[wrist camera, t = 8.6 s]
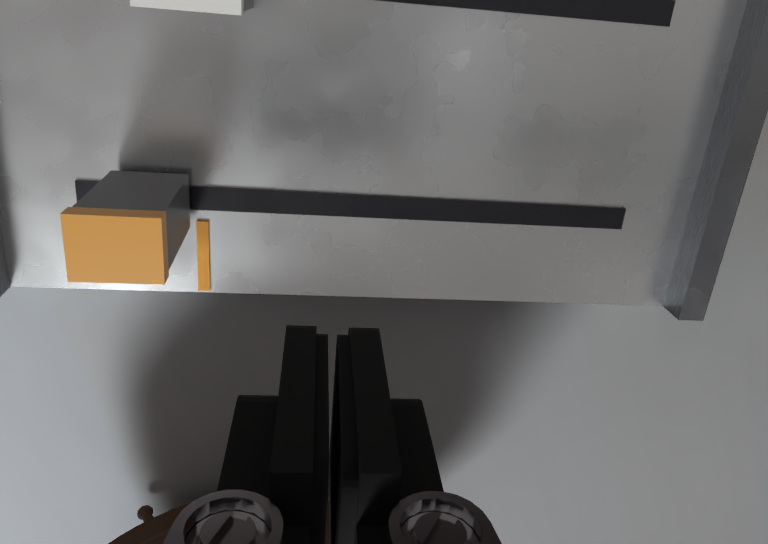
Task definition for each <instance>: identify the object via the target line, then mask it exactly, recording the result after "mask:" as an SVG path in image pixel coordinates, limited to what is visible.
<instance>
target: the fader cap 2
mask: <svg viewBox="0 0 768 544" xmlns="http://www.w3.org/2000/svg"><path fill="white" fill-rule="evenodd" d="M130 6H134V7H146V8H158V9H170V10H182V11H194V12H206V13H217V14H229V15H244V11H246V10H249V9H252V8H254V0H130Z"/></svg>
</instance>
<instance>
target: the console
mask: <svg viewBox="0 0 768 544" xmlns="http://www.w3.org/2000/svg"><path fill="white" fill-rule="evenodd" d="M767 111H768V0H254V8H252V9H249V10H246V11H244V15H229V14H217V13H206V12H194V11H182V10H170V9H158V8H146V7H134V6H130V0H0V297H1V296H2V294H3V293H4V292H5V291H6V290H7V289H8V288H9V287H44V288H78V289H112V290H146V291H180V292H213V293H247V294H281V295H315V296H349V297H383V298H416V299H450V300H484V301H518V302H552V303H586V304H619V305H653V306H663V307H665V308H666V309H667V310H668V311H669V312H670V313H671V314H672V315H674V316H675V317H676V318H677V319H678V320H701V321H703V319H704V316H705V313H706V310H707V306H708V303H709V300H710V297H711V293H712V290H713V287H714V284H715V280H716V277H717V274H718V270H719V267H720V264H721V261H722V257H723V254H724V251H725V248H726V244H727V241H728V238H729V235H730V231H731V228H732V225H733V222H734V218H735V215H736V212H737V208H738V205H739V202H740V199H741V195H742V192H743V189H744V186H745V182H746V179H747V176H748V173H749V169H750V166H751V163H752V160H753V156H754V153H755V150H756V146H757V143H758V140H759V137H760V133H761V130H762V127H763V124H764V120H765V117H766V114H767ZM111 170H115V171H134V172H153V173H172V174H189V203H190V228H189V230H188V232H187V234H186V237H185V239H184V241H183V243H182V245H181V247H180V249H179V251H178V253H177V255H176V257H175V259H174V261H173V263H172V265H171V267H170V269H169V277H168V279H167V281H166V283H165V285H155V284H123V283H90V282H68V280H67V272H66V263H65V254H64V245H63V236H62V228H61V219H60V213H61V212H63V211H64V210H65V209H66V208H67V207H72V206H73V205H74V204H76V203H77V202H78V201H79V200H80V199H81V198H82V197H83V196H84V195H85V194H86V193H87V192H88V191H90V190H91V189H92V188H93V187H94V186H95V185H96V184H97V183H98V182H99V181H100V180H101V179H102V178H104V177H105V176H106V175H107V174H108V173H109V172H110V171H111Z"/></svg>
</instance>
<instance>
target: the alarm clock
mask: <svg viewBox="0 0 768 544" xmlns="http://www.w3.org/2000/svg"><path fill="white" fill-rule="evenodd" d="M328 496H329V485H328ZM188 505H189V504H187V505H184V506H181V507H178V508H176V509H173V510H170V511H168V512H166V513H163V514H161V515H159V516H156V517H153V516H152V514H153V508H152V507H150V506H148V505H146V506H142V507H141V508H140V509H139V510H138V514H137V515H138V518H139V519H142V520H143V521H144V523H142V524H140V525H138V526H136V527H135V528H133V529H131V530H129V531H128V532H126V533H124V534H123V535H121V536H119V537H118V538H116V539H115V540H113V541H112V542H110V543H109V544H163V542H164V540H165V538H166V536H167V534H168V532H169V530H170V528H171V526H172V524H173V522H174V520H175V519H176V518H177V516H178V515H179V514H180V512H181V511H182V509H184V508H185V507H186V506H188ZM325 544H329V502H327V518H326V534H325Z"/></svg>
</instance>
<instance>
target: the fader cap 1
mask: <svg viewBox="0 0 768 544" xmlns="http://www.w3.org/2000/svg"><path fill="white" fill-rule="evenodd" d="M60 219H61V228H62V236H63V245H64V254H65V263H66V272H67V280H68V282H90V283H123V284H155V285H165V283H166V281H167V279H168V277H169V269H170V267H171V265H172V263H173V261H174V259H175V257H176V255H177V253H178V251H179V249H180V247H181V245H182V243H183V241H184V239H185V237H186V234H187V232H188V230H189V228H190V203H189V174H172V173H153V172H134V171H115V170H111V171H110V172H109V173H108V174H107V175H106V176H105V177H104V178H102V179H101V180H100V181H99V182H98V183H97V184H96V185H95V186H94V187H93V188H92V189H91V190H90V191H88V192H87V193H86V194H85V195H84V196H83V197H82V198H81V199H80V200H79V201H78V202H77V203H76V204H74V205H73V206H72V207H67V208H66V209H65V210H64V211H63V212H61V213H60Z"/></svg>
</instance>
